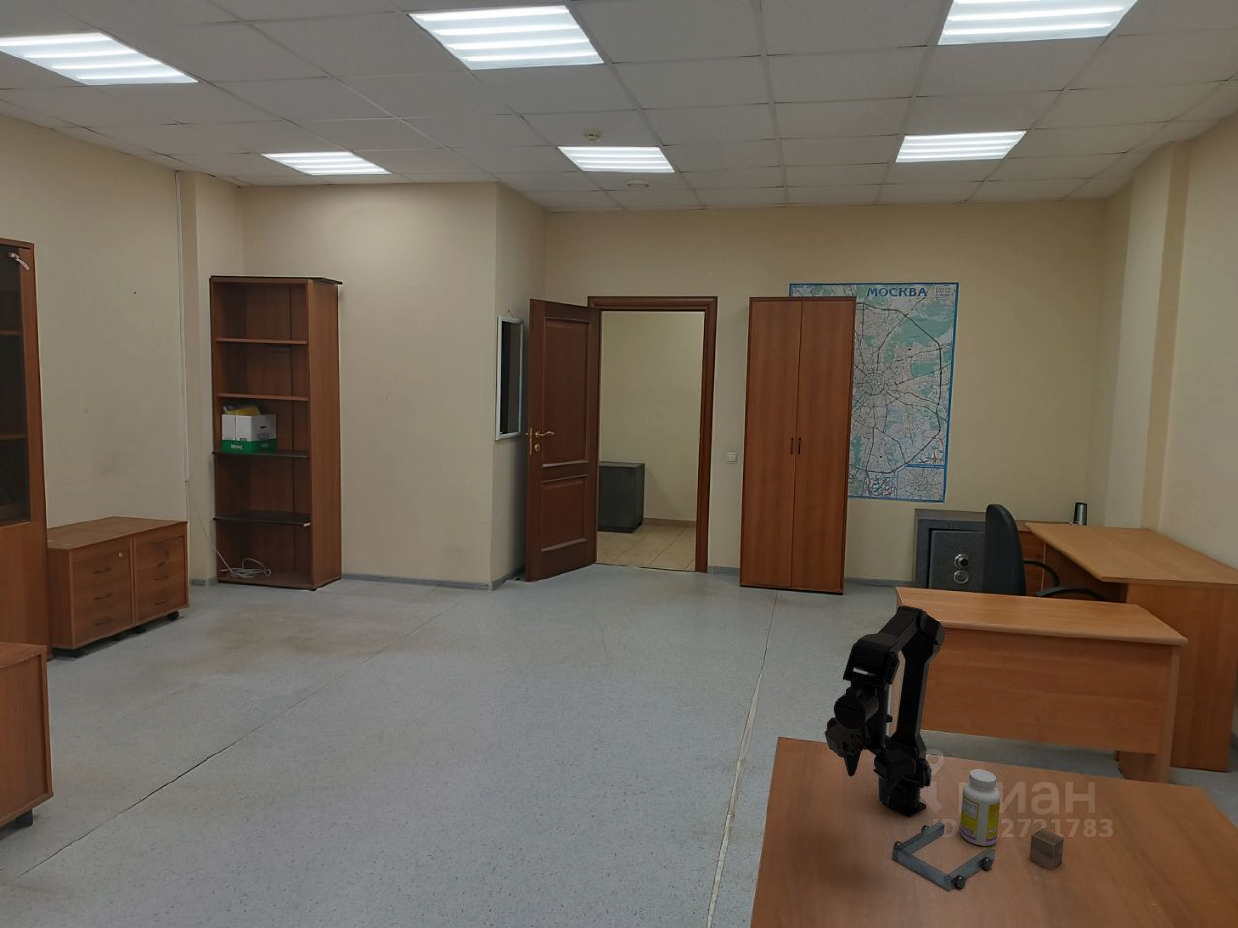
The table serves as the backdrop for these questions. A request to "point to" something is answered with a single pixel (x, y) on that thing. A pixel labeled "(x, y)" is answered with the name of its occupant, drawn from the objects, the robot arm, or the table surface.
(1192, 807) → the table surface
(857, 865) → the table surface
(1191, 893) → the table surface
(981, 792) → the supplement bottle
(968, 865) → the grey metal u-shaped frame
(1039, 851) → the brown block
